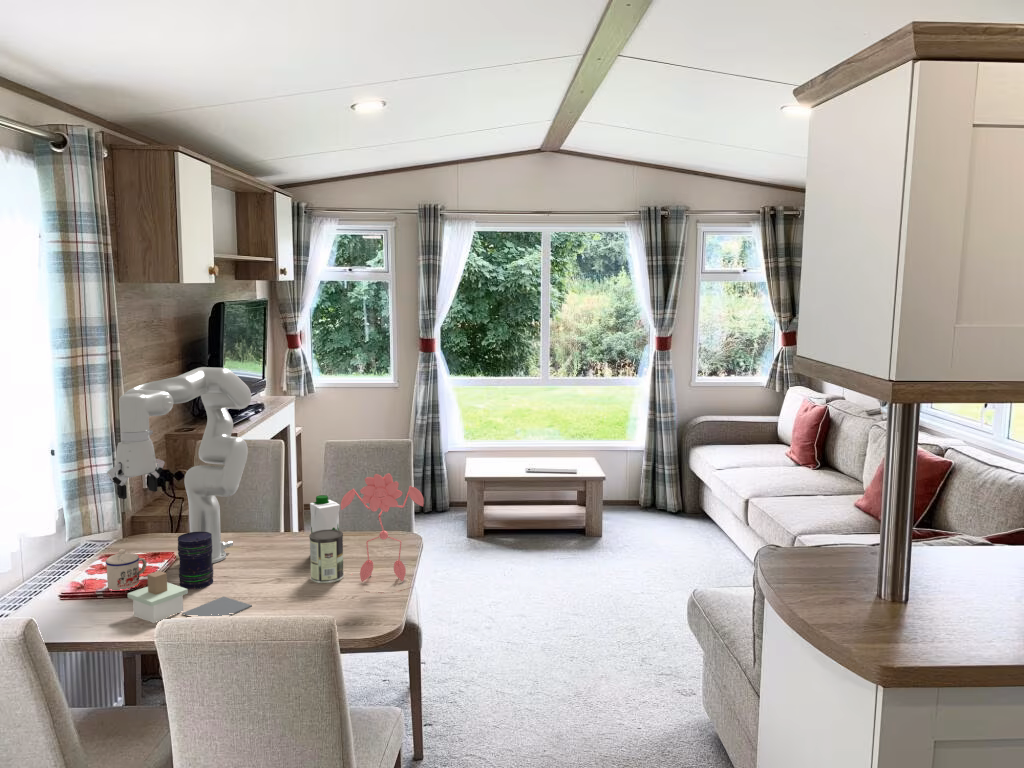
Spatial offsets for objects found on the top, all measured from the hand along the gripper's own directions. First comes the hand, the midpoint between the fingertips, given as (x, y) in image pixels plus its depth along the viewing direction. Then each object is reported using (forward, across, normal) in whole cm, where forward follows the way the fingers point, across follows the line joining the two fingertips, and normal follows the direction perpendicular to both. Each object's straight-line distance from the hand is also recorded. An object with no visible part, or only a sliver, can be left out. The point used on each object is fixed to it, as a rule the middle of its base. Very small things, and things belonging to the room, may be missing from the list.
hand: (138, 494), depth 225 cm
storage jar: (+31, -14, +6) cm, 34 cm away
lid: (+25, +6, +16) cm, 30 cm away
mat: (+30, -4, +28) cm, 41 cm away
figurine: (+31, -44, +54) cm, 76 cm away
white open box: (+31, +6, +16) cm, 35 cm away
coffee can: (+31, -39, +36) cm, 61 cm away
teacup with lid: (+31, -2, -10) cm, 32 cm away
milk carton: (+31, -54, +21) cm, 65 cm away
